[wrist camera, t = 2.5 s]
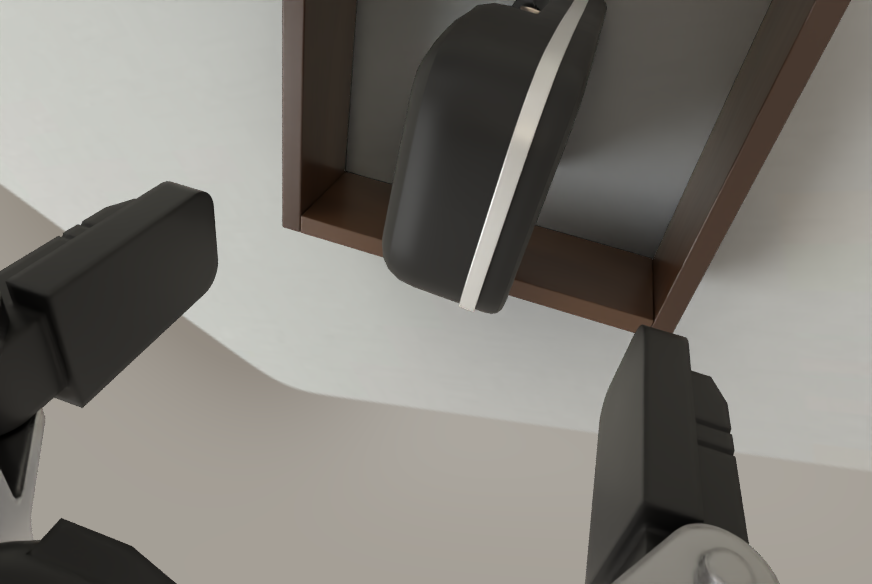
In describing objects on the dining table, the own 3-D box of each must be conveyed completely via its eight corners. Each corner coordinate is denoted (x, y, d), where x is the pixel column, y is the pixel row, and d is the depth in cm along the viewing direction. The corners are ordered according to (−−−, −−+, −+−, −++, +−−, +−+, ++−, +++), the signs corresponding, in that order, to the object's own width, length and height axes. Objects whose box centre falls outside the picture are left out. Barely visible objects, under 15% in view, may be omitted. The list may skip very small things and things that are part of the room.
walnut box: (328, 182, 28) (281, 227, 24) (347, -192, 19) (281, -207, 16) (664, 278, 26) (667, 343, 22) (845, -94, 17) (897, -85, 14)
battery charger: (506, -41, 20) (399, 26, 11) (613, -9, 20) (589, 86, 11) (458, 144, 25) (352, 299, 16) (545, 173, 24) (488, 348, 15)
